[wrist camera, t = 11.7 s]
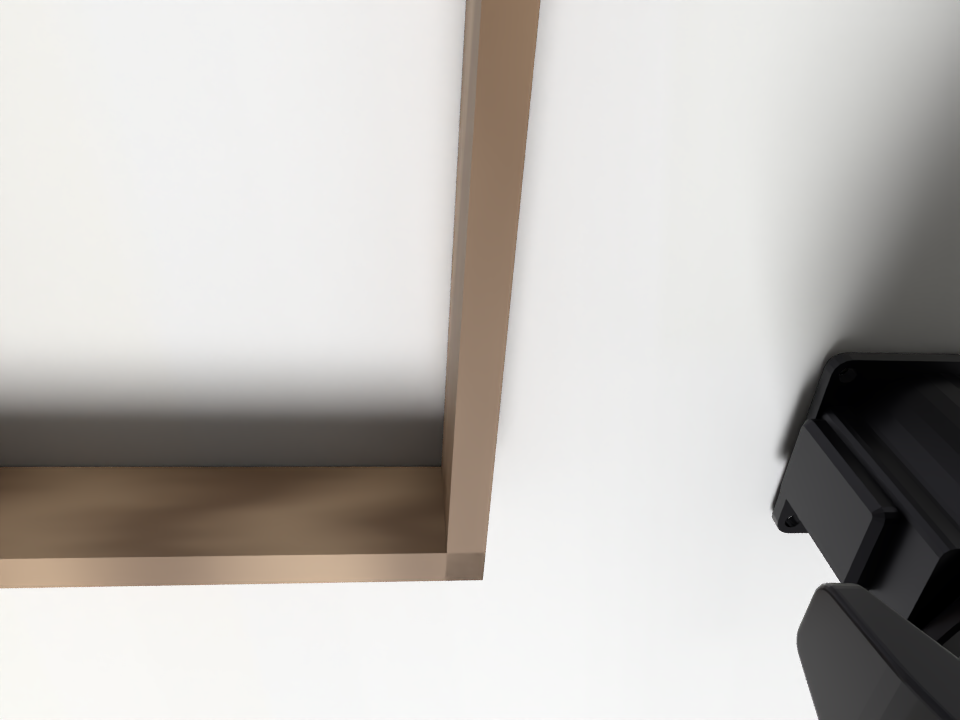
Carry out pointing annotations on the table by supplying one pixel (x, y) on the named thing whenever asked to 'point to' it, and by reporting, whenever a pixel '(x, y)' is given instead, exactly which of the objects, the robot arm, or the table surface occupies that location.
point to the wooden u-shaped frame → (324, 490)
